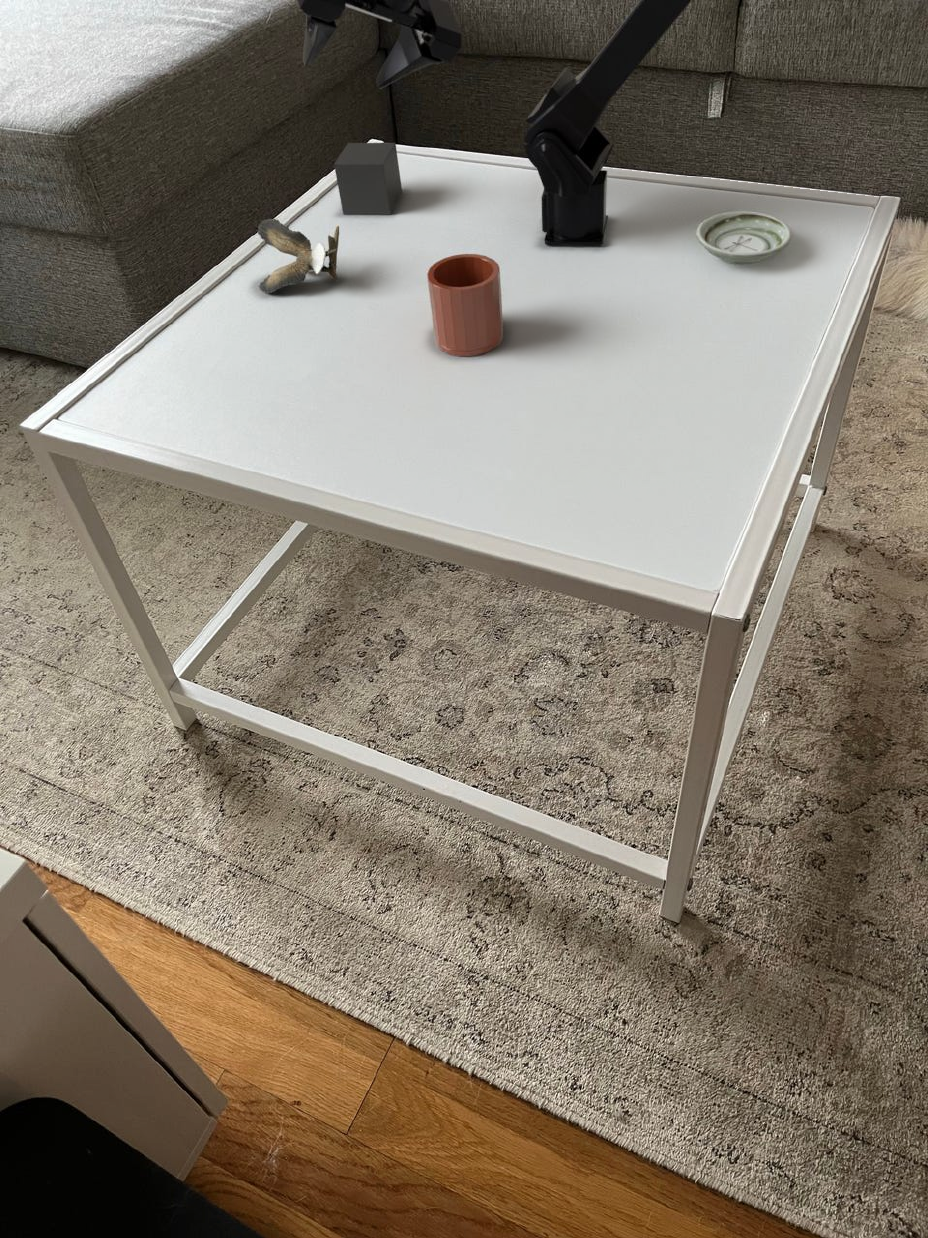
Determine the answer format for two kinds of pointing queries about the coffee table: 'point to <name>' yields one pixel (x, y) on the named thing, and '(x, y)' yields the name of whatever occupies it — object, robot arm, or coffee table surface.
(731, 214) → the saucer
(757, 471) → the coffee table surface
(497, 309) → the cup
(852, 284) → the coffee table surface
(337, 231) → the eagle figurine
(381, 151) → the block
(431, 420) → the coffee table surface
